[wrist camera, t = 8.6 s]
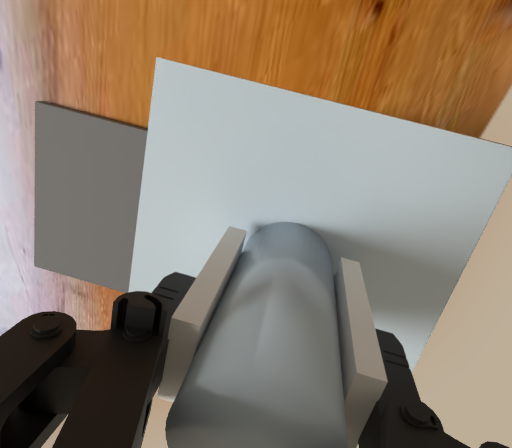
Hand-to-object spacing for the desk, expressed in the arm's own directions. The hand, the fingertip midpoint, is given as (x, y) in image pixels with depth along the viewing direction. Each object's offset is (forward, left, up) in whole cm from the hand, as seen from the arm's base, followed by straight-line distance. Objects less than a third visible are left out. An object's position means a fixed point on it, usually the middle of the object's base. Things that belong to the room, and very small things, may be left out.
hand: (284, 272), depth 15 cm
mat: (-17, -9, -20) cm, 28 cm away
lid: (0, 0, -2) cm, 2 cm away
